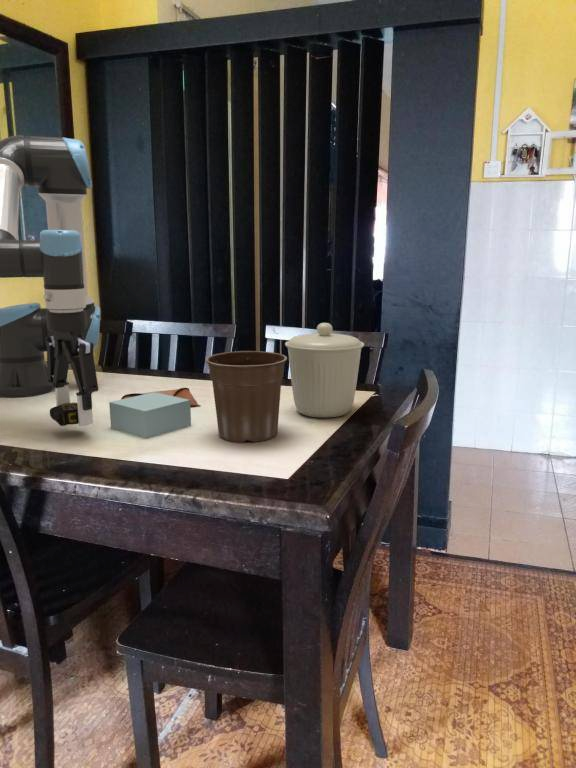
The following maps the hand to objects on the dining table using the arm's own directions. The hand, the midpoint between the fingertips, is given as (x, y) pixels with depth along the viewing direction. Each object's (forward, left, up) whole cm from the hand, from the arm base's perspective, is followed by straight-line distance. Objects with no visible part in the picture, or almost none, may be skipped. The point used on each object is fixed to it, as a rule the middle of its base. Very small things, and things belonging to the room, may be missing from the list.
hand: (75, 420), depth 123 cm
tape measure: (0, -2, -1) cm, 2 cm away
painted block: (+8, +13, -3) cm, 16 cm away
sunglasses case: (-3, +25, -3) cm, 25 cm away
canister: (+30, +46, -3) cm, 55 cm away
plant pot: (+28, +22, -3) cm, 36 cm away
